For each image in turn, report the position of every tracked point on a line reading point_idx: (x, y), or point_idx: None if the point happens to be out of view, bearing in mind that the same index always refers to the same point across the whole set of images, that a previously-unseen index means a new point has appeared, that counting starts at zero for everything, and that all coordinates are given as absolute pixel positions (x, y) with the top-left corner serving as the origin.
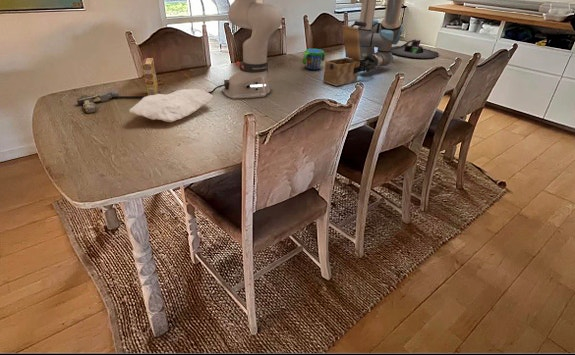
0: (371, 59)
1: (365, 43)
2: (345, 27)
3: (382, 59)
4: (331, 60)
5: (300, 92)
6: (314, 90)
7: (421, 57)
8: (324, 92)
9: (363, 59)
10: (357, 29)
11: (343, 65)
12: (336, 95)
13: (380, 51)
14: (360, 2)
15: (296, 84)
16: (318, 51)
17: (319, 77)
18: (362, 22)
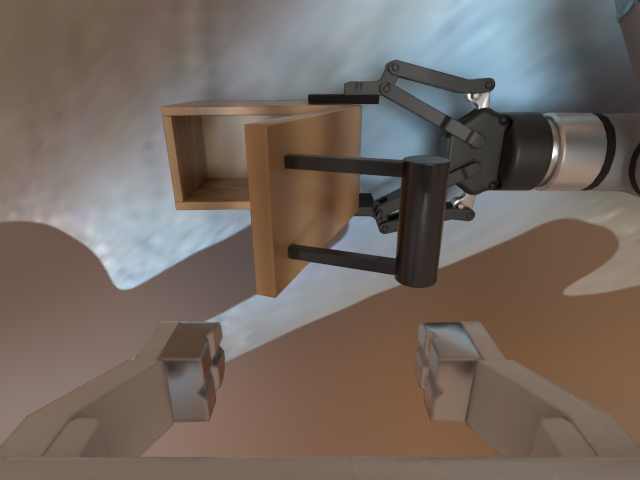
0: (502, 174)
1: (632, 65)
2: (250, 167)
3: (578, 189)
4: (208, 113)
5: (30, 133)
6: (99, 152)
7: None
8: (123, 193)
9: (476, 138)
10: (268, 292)
11: (213, 208)
12: (144, 241)
13: (631, 163)
14: (424, 347)
15: (66, 37)
16: None
17: (237, 24)
18: (414, 257)
